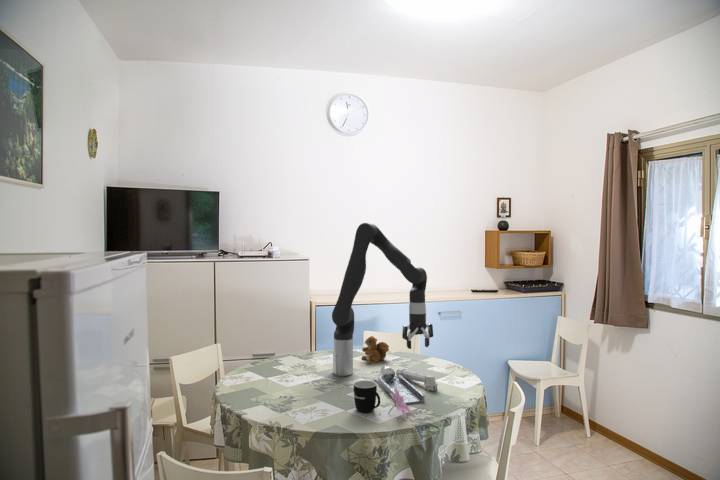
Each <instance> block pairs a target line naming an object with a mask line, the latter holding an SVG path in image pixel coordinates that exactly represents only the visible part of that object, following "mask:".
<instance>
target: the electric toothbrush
mask: <svg viewBox="0 0 720 480" xmlns="http://www.w3.org/2000/svg"><path fill="white" fill-rule="evenodd" d="M399 375H401V376H402V377H403V378H404V379H406V380H410V381H415V382H419V383H420V382H421V383H423V385H424V387H425V390H426V391H427V392H429V391H432V392H435V391H437V390H438V382H437V381H436V378H435V376H434V375H429V374H428V375H425V374H421V373H418V372H415V371H412V370H407V369H406V368H398V369H397V370H396V371H395V376H397V377H398V378H399Z"/></svg>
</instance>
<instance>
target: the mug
mask: <svg viewBox="0 0 720 480" xmlns="http://www.w3.org/2000/svg"><path fill="white" fill-rule="evenodd" d="M377 384H378V383H377V382H376V381H373V380H365V379H364V380H358V381H355V382H354V383H353V397H354V399H353V400H354V404H355V405H354V406H355V409H356V410H357V412H358V413H362V414H370V413H372V412H373V411H374V410H375V409H377V408H378V407H379V406H380V405H381V398H380V395H379V393H378V391H377V390H378V389H377V387H378V386H377ZM376 401H377V404H376Z"/></svg>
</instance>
